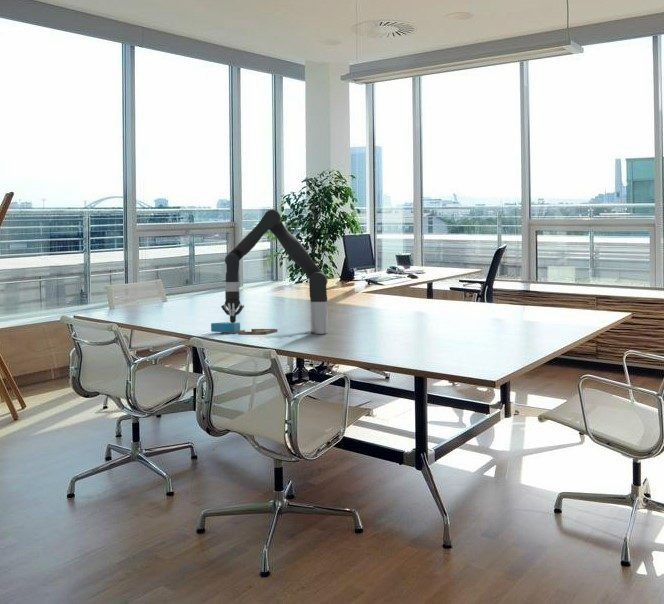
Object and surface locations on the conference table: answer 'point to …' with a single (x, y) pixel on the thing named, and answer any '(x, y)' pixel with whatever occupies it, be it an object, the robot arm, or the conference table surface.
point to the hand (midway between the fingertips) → (232, 322)
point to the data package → (225, 327)
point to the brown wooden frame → (258, 332)
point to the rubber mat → (232, 332)
